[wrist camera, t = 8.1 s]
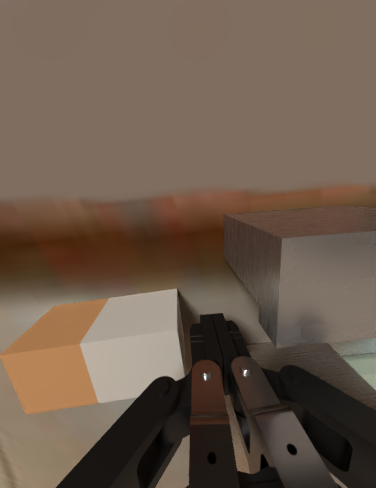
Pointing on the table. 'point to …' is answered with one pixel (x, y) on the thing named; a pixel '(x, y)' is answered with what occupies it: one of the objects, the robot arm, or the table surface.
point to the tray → (364, 366)
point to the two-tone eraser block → (97, 351)
